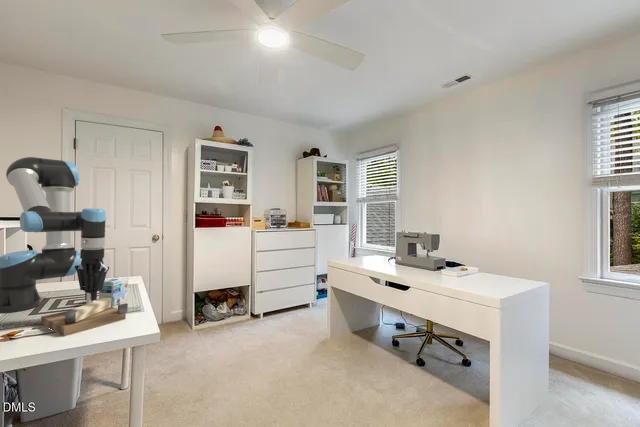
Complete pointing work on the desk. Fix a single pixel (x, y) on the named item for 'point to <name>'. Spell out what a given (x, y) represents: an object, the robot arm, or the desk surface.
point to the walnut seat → (84, 320)
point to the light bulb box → (115, 289)
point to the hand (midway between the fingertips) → (90, 308)
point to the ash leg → (88, 310)
